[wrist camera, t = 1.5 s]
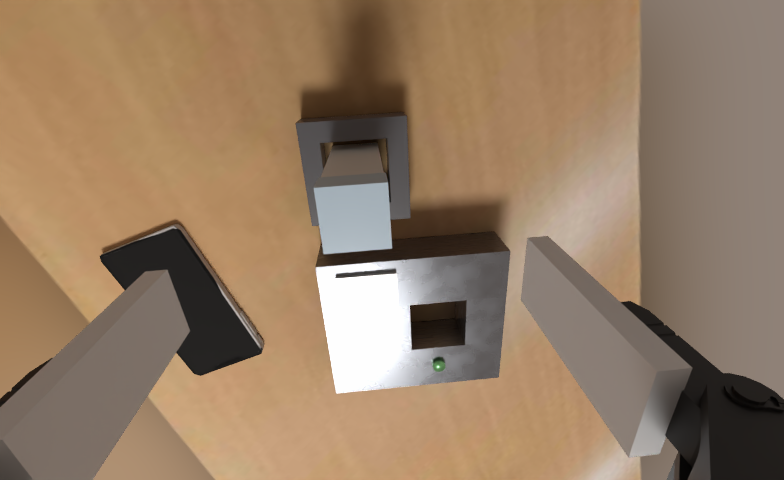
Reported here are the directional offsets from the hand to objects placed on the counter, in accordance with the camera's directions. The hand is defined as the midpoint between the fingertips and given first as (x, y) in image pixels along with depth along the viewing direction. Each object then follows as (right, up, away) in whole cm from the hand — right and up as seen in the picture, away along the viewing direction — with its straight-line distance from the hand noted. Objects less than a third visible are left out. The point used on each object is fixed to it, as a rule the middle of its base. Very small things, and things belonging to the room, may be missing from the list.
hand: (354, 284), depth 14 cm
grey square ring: (-1, +8, +17) cm, 18 cm away
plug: (-1, +8, +17) cm, 19 cm away
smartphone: (-18, -4, +22) cm, 28 cm away
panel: (+3, -4, +23) cm, 23 cm away
